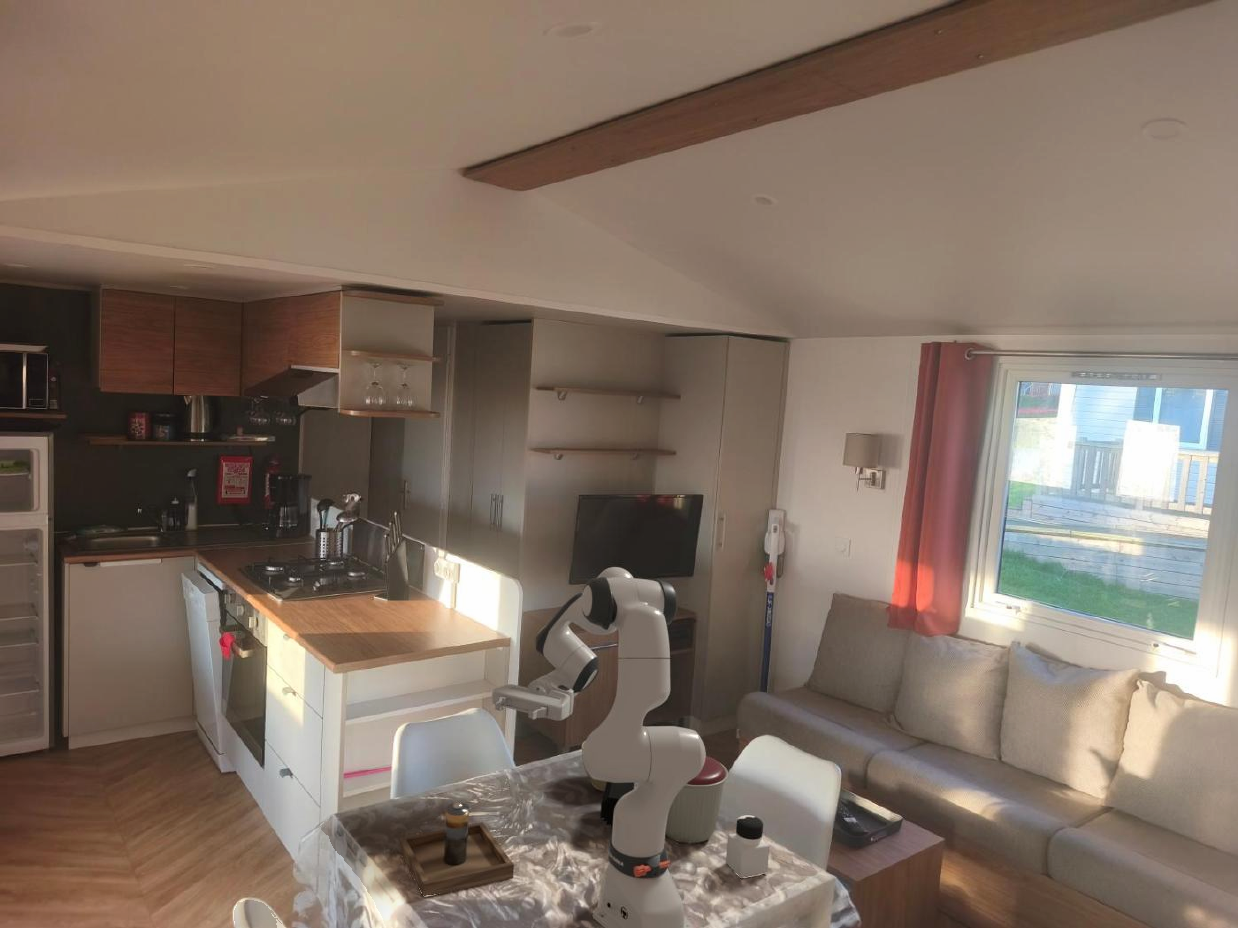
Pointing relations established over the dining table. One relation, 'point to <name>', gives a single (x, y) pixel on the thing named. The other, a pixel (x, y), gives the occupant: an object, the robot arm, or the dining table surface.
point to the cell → (456, 833)
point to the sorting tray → (479, 868)
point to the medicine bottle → (747, 847)
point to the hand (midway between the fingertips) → (514, 711)
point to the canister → (697, 805)
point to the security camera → (613, 799)
